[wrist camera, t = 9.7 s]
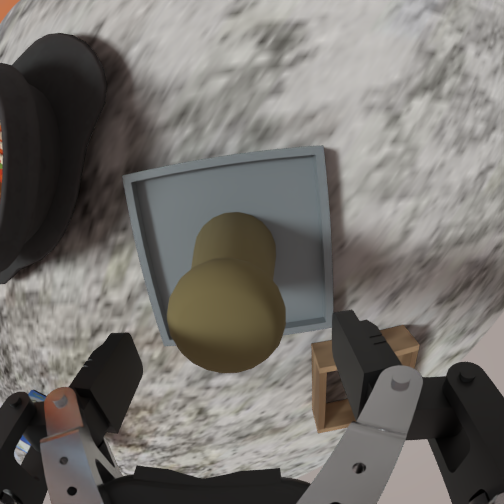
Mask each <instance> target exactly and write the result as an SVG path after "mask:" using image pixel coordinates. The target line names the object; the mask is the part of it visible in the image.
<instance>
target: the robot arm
mask: <svg viewBox="0 0 504 504" xmlns="http://www.w3.org/2000/svg"><path fill="white" fill-rule="evenodd" d="M332 353H333V359H334V362H335V365H336V367H337V370H338V373H339V376H340V378H341V381H342V384H343V386H344V389H345V392H346V395H347V398H348V400H349V403H350V406H351V409H352V412H353V414H354V417H355V420H356V422H355V421H352V422H351V424H350V425H349V426H348V428H347V430H346V431H345V433H344V435H343V436H342V438H341V440H340V441H339V443H338V444H337V446H336V448H335V449H334V451H333V452H332V454H331V456H330V457H329V459H328V460H327V462H326V463H325V465H324V466H323V468H322V469H321V471H320V472H319V473H318V475H317V476H316V478H315V479H314V481H313V482H312V483H311V484H310V483H308V482H304V481H301V480H298V479H292V478H286V477H281V472H280V468H276V469H265V470H250V471H239V472H235V473H231V474H226V475H221V476H216V477H211V478H205V479H201V478H197V477H193V476H189V475H186V474H182V473H179V472H176V471H172V470H169V469H161V468H152V467H144V466H136V469H135V473H134V474H133V475H127V476H123V475H122V474H121V472H120V469H119V467H118V465H117V463H116V460H115V458H114V456H113V453H112V451H111V449H110V446H109V444H108V441H107V439H106V438H105V437H104V436H105V433H106V432H110V433H117V434H118V432H119V429H120V427H121V425H122V422H123V420H124V417H125V415H126V413H127V410H128V408H129V405H130V403H131V401H132V398H133V396H134V394H135V392H136V389H137V387H138V385H139V382H140V380H141V378H142V375H143V366H142V362H141V359H140V357H139V354H138V352H137V349H136V347H135V344H134V342H133V339H132V337H131V335H130V334H129V333H111V334H110V335H109V336H108V338H107V339H106V341H105V342H104V343H103V345H101V346H100V347H98V348H97V349H96V350H94V351H93V353H92V354H91V355H90V357H89V358H88V361H86V362H85V364H84V365H83V366H84V367H82V368H81V370H80V371H79V373H78V374H77V376H76V377H75V378H74V380H73V381H72V383H71V384H70V386H69V387H61V388H58V389H55V390H53V391H52V392H51V393H49V394H48V396H47V397H46V398H45V401H41V402H33V401H32V400H31V398H30V397H29V395H28V394H27V393H25V392H17V393H14V394H12V395H11V396H9V397H8V398H7V399H6V401H5V402H4V403H3V405H2V406H1V408H0V504H43V501H44V498H45V496H46V493H47V490H48V492H49V496H50V500H51V504H377V502H378V500H379V498H380V496H381V494H382V492H383V490H384V488H385V486H386V484H387V482H388V480H389V478H390V475H391V473H392V471H393V469H394V467H395V464H396V462H397V460H398V457H399V455H400V452H401V450H402V447H403V445H404V442H405V440H418V439H419V440H420V439H428V442H429V444H430V447H431V449H432V451H433V454H434V456H435V459H436V461H437V464H438V466H439V469H440V472H441V474H442V477H443V479H444V482H445V485H446V487H447V490H448V493H449V496H450V499H451V502H452V504H504V397H503V396H502V394H501V393H500V392H499V390H498V389H497V388H496V386H495V385H494V383H493V382H492V381H491V379H490V378H489V377H488V376H487V374H486V373H485V372H484V371H483V369H482V368H481V367H480V366H478V365H476V364H474V363H471V362H459V363H456V364H454V365H453V366H451V367H450V369H449V370H448V372H447V375H446V376H444V377H422V376H421V374H420V373H419V372H418V371H417V370H415V369H414V368H411V367H408V366H403V365H402V363H401V362H400V360H399V359H398V357H397V356H396V354H395V353H394V351H393V350H392V348H391V347H390V345H389V344H388V342H387V341H386V339H385V338H384V336H382V333H381V332H380V330H379V329H378V327H377V326H376V325H374V324H373V323H371V322H370V321H368V320H363V321H359V319H358V318H357V316H356V315H355V313H354V311H353V310H346V311H341V312H335V313H333V314H332ZM22 435H23V436H24V437H25V438H26V439H27V441H28V442H29V443H30V444H31V446H30V448H29V450H28V452H27V454H26V456H25V458H24V460H23V462H22V464H21V466H20V465H19V463H18V462H17V461H16V460H15V457H14V450H15V448H16V446H17V444H18V442H19V441H20V439H21V437H22Z"/></svg>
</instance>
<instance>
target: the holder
mask: <svg viewBox="0 0 504 504" xmlns="http://www.w3.org/2000/svg"><path fill="white" fill-rule="evenodd" d="M380 332H381V333H382V336H384V338H385V339H386V341H387V342H388V344H389V345H390V347H391V348H392V350H393V351H394V353H395V354H396V356H397V357H398V359H399V360H400V362H401V363H402V365H403V366H408V367H411V368H415V363H416V359H417V355H418V350H419V346H420V345H419V343H418V342H417V341H416V340H415V338H414V337H413V336H412V335H411V334H410V332H409V331H408V330H407V329H406V328H405V326H404V325H401V326H397V327H392V328H388V329H384V330H380ZM311 346H312V410H313V414H314V419H315V423H316V427H317V431H318V433H322V432H328V431H332V430H337V429H342V428H346V427H348V426H349V425H350V424H351V422H352V421H355V422H356V420H355V417H354V414H353V412H352V409H351V406H350V403H349V400H348V399H345V400H341V401H336V402H331V403H326V379H327V372H331V371H336V370H337V367H336V365H335V362H334V359H333V353H332V340H330V341H324V342H318V343H312V344H311Z"/></svg>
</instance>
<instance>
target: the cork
mask: <svg viewBox="0 0 504 504" xmlns="http://www.w3.org/2000/svg"><path fill="white" fill-rule="evenodd" d="M275 261H276V244H275V241H274V239H273V236H272V234H271V232H270V230H269V229H268V228H267V227H266V226H265V224H264V223H263V222H262V221H260V220H258V219H257V218H255V217H253V216H252V215H249V214H245V213H241V212H230V213H223V214H221V215H218V216H216V217H214V218H212V219H211V220H210V221H208V222H207V223H206V224H205V225H204V226H203V227H202V229H201V230H200V232H199V234H198V235H197V237H196V242H195V247H194V252H193V259H192V266H191V270H189V271H188V272H187V273H186V274H185V275H184V276H182V277H181V278H180V280H179V282H178V283H177V285H176V287H175V289H174V290H173V292H172V294H171V296H170V298H169V303H168V311H167V323H168V327H169V332H170V336H171V337H172V339H173V341H174V342H175V344H176V345H177V347H178V349H179V350H180V351H181V353H182V354H183V355H184V356H186V357H187V358H188V359H189V360H190V361H191V362H192V363H194V364H196V365H198V366H200V367H202V368H204V369H206V370H210V371H215V372H219V373H238V372H241V371H245V370H248V369H252V368H254V367H255V366H257V365H258V364H260V363H262V362H263V361H265V360H266V359H267V358H268V357H269V356H270V355H271V354H272V353H273V352H274V350H275V349H276V348H277V347H278V346H279V344H280V341H281V338H282V336H283V333H284V330H285V326H286V307H285V304H284V301H283V298H282V296H281V293H280V291H279V288H278V286H277V285H276V284H275V283H274V281H273V277H274V269H275Z"/></svg>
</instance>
